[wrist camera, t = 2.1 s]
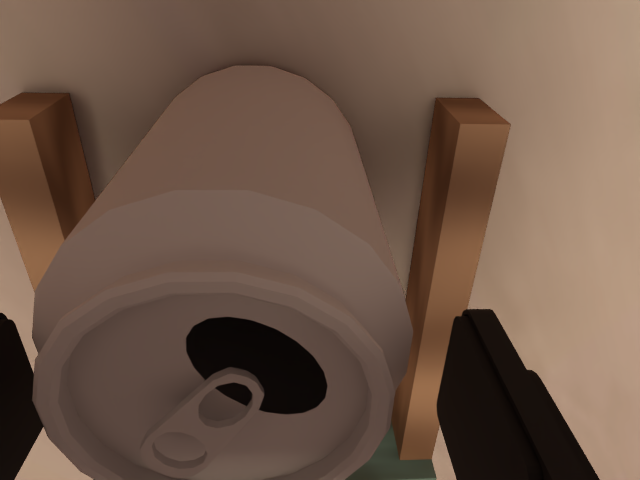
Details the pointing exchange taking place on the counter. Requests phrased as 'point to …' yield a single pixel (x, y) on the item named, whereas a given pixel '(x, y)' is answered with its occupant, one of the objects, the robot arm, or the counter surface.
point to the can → (226, 298)
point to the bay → (427, 260)
